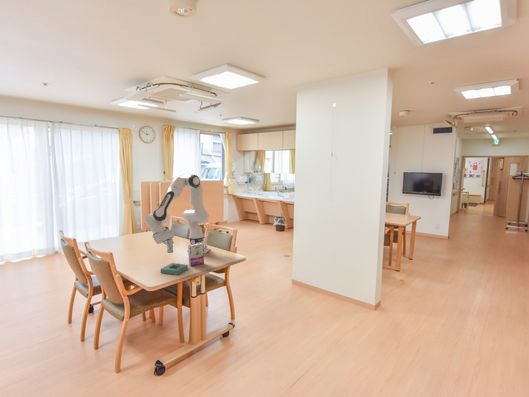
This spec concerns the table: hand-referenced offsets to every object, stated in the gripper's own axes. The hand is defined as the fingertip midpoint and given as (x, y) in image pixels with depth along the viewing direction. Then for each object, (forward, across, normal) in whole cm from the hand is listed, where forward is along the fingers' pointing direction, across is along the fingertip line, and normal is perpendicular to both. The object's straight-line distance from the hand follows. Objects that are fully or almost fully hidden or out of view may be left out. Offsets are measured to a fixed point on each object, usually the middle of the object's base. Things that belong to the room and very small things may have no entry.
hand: (170, 244), depth 236 cm
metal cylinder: (+4, 0, +5) cm, 6 cm away
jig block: (+19, -12, +3) cm, 23 cm away
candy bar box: (+25, +6, -2) cm, 26 cm away
